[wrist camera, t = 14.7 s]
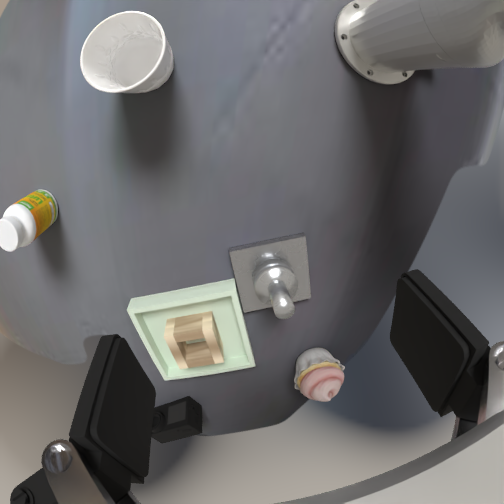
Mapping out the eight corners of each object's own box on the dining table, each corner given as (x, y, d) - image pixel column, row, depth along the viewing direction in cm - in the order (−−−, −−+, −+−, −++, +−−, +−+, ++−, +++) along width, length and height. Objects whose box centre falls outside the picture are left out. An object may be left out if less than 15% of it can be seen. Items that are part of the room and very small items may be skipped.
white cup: (179, 93, 30) (165, 85, 21) (114, 102, 29) (80, 100, 20) (179, 32, 26) (167, 4, 17) (115, 42, 25) (82, 22, 16)
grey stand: (302, 232, 39) (324, 264, 31) (308, 293, 44) (327, 331, 36) (228, 248, 39) (232, 284, 31) (243, 307, 44) (249, 349, 36)
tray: (234, 278, 41) (235, 289, 39) (253, 354, 48) (255, 366, 46) (131, 298, 41) (126, 310, 38) (166, 368, 48) (164, 380, 45)
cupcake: (341, 362, 52) (359, 401, 44) (296, 381, 53) (309, 422, 44) (330, 332, 48) (351, 374, 39) (280, 353, 49) (292, 399, 40)
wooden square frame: (166, 319, 42) (163, 336, 39) (211, 310, 42) (212, 328, 39) (184, 357, 46) (183, 375, 43) (225, 350, 46) (226, 368, 43)
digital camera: (185, 392, 51) (184, 421, 45) (202, 405, 54) (202, 433, 48) (147, 405, 53) (143, 433, 47) (163, 417, 55) (162, 443, 49)
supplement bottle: (57, 188, 32) (18, 213, 24) (60, 226, 34) (26, 259, 26) (27, 188, 31) (-13, 213, 23) (31, 225, 34) (-5, 255, 25)
